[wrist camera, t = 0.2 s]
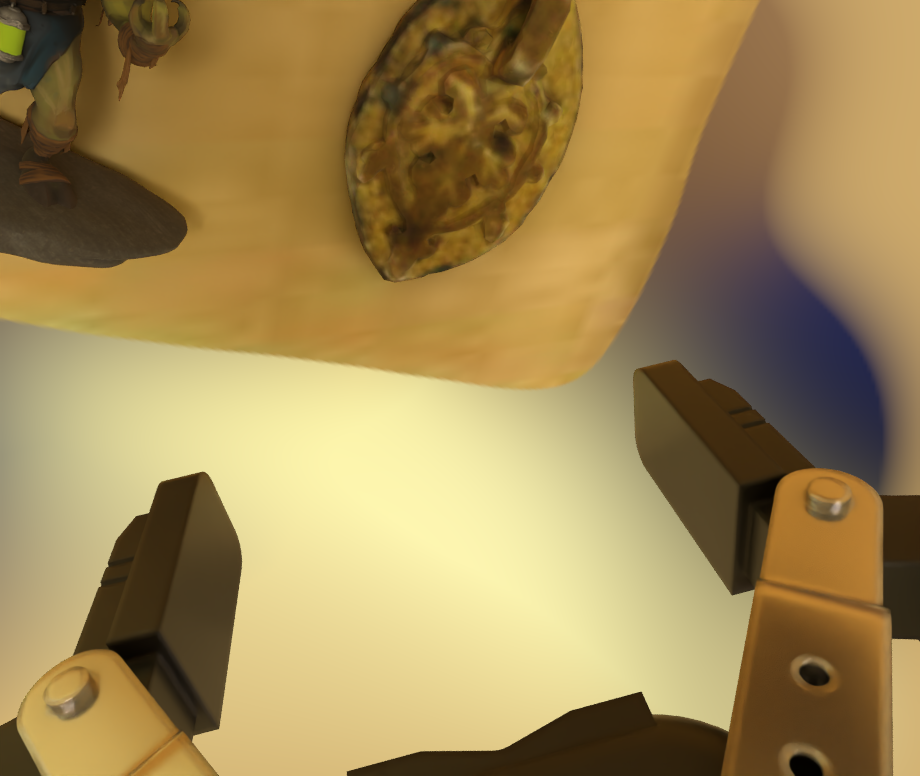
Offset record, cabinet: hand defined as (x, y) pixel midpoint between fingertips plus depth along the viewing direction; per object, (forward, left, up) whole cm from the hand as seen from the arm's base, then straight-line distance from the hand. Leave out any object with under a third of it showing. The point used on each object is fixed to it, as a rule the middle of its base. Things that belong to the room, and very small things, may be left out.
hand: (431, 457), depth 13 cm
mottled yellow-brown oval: (-4, +3, -21) cm, 22 cm away
